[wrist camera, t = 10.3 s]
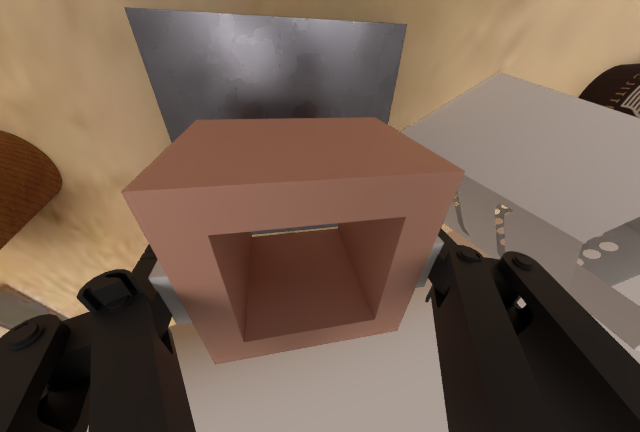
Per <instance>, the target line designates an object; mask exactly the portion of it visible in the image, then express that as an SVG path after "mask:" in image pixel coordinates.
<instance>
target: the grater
mask: <svg viewBox="0 0 640 432" xmlns="http://www.w3.org/2000/svg"><path fill="white" fill-rule="evenodd" d="M401 133H402V134H404V135H406V136H407V137H409V138H411V139H412V140H414V141H416V142H417V143H419V144H421V145H422V146H424V147H426V148H427V149H429V150H431V151H432V152H434V153H436V154H438V155H439V156H441V157H443V158H444V159H446V160H448V161H449V162H451V163H453V164H454V165H456V166H458V167H459V168H461V169H463V170H464V171H465V173H464V175H463V177H462V180H461V184H459V187H458V189H457V191H456V194H457V195H458V197H457V198H456V199H453V201H452V203H451V205H450V208H449V210H448V213H447V215H446V217H445V220H444V222H443V223H444V224H446V225H447V226H449V227H450V228H451V229H453V230H454V231H456V232H457V233H459V234H460V235H461V236H463V237H464V238H466V239H467V240H468V241H470V242H471V243H473V244H474V245H476V246H477V247H478V248H480V249H481V250H483V251H484V252H485V253H487V254H488V255H490V256H491V257H493V258H494V259H500V258H501V257H502V255H503V254H504V253H505V252H508V251H514V252H520V253H522V254H525V255H528V256H529V257H531V258H533V259H534V260H536V261H537V262H538V263H539V264H540V265H541V266H542V267H543V268H544V269H545V270H546V271H547V272H548V273H549V274H550V275H551V276H552V277H553V278H554V279H555V280H556V281H557V282H558V283H559V284H560V285H561V286H562V287H563V288H564V289H565V290H566V291H567V292H568V293H569V294H570V295H571V296H572V297H573V298H574V299H575V300H576V301H577V302H578V303H579V304H580V305H581V306H582V307H583V308H584V309H585V310H586V311H587V312H589V313H590V314H591V315H592V316H594V317H595V318H596V319H597V320H599V321H600V322H601V323H602V324H603V325H605V326H606V327H607V328H608V329H609V330H611V331H612V332H613V333H614V334H616V335H617V336H618V337H619V338H621V339H622V340H623V341H624V342H625V343H627V344H628V345H629V346H630V347H632V348H633V349H634V350H637V351H640V306H638V305H637V304H635V303H634V302H633V301H631V300H630V299H628V298H627V297H625V296H624V295H622V294H621V293H620V292H618V291H617V290H615V289H614V288H612V287H611V286H613V285H616V284H618V283H620V282H623V281H625V280H628V279H630V278H632V277H635V276H637V275H639V274H640V118H637V117H634V116H631V115H628V114H625V113H622V112H619V111H616V110H613V109H610V108H607V107H604V106H601V105H598V104H595V103H592V102H589V101H586V100H583V99H580V98H577V97H574V96H571V95H567V94H564V93H561V92H558V91H555V90H552V89H549V88H546V87H543V86H540V85H537V84H534V83H531V82H528V81H525V80H522V79H519V78H516V77H513V76H510V75H507V74H504V73H501V72H497V73H496V74H494V75H492V76H491V77H489V78H487V79H486V80H484V81H482V82H481V83H479V84H478V85H476V86H474V87H473V88H471V89H469V90H468V91H466V92H464V93H463V94H461V95H460V96H458V97H456V98H455V99H453V100H451V101H450V102H448V103H446V104H445V105H443V106H442V107H440V108H438V109H437V110H435V111H433V112H432V113H430V114H428V115H427V116H425V117H424V118H422V119H420V120H419V121H417V122H415V123H414V124H412V125H410V126H409V127H407V128H406V129H404V130H402V131H401ZM454 202H459V205H458V206H456V207H455V205H454ZM501 205H504V206H506V207H508V209H504V208H502V207H501ZM495 209H499V210H500V213H499V214H496V215H495ZM507 212H510V213H508V214H506V215H504V214H505V213H507ZM495 218H501V219H503V223H502V224H499V225H495ZM500 227H504V233H505V234H499V233H498V232H497V229H498V228H500ZM601 234H603V235H602V236H600V237H596V236H599V235H601ZM504 238H505V246H504V245H502V244H501V243H500V240H502V239H504ZM585 241H587V242H586V243H585V244H583V242H585ZM601 242H613V243H615V244H617V245H618V247H619V249H618V250H617V251H605V250H602V249H601V248H600V247H599V244H600V243H601ZM587 249H593V250H596V251H599V252H600V253H601V257H600V258H598V259H589V258H587V257H585V256H584V255H583V253H582V252H583V251H584V250H587ZM578 258H580V259H582V260H583V261H584V264H583V265H582V266H580V265H579V264H577V260H578Z"/></svg>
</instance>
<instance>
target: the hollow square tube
mask: <svg viewBox="0 0 640 432" xmlns="http://www.w3.org/2000/svg"><path fill="white" fill-rule="evenodd" d="M464 173H465V171H464V170H463V169H461V168H459V167H458V166H456V165H454V164H453V163H451V162H449V161H448V160H446V159H444V158H443V157H441V156H439V155H438V154H436V153H434V152H432V151H431V150H429V149H427V148H426V147H424V146H422V145H421V144H419V143H417V142H416V141H414V140H412V139H411V138H409V137H407V136H406V135H404V134H402V133H401V132H399V131H397V130H396V129H394V128H392V127H391V126H389V125H387V124H385V123H384V122H382V121H380V120H379V119H377V118H375V117H360V118H290V119H219V120H196V121H195V122H194V123H193V124H192V125H190V126H189V127H188V128H187V129H186V130H185V131H184V132H183V133H182V134H181V135H180V136H179V137H178V138H177V139H176V140H175V141H174V142H173V143H172V144H171V145H170V146H169V147H167V148H166V149H165V150H164V151H163V152H162V153H161V154H160V155H159V156H158V157H157V158H156V159H155V160H154V161H153V162H152V163H151V164H150V165H149V166H148V167H147V168H146V169H145V170H143V171H142V172H141V173H140V174H139V175H138V176H137V177H136V178H135V179H134V180H133V181H132V182H131V183H130V184H129V185H128V186H127V187H126V188H125V189H124V190H123V191H122V192H121V193H122V194H123V196H124V198H125V200H126V202H127V204H128V205H129V207H130V209H131V211H132V213H133V215H134V216H135V218H136V220H137V222H138V224H139V226H140V227H141V229H142V231H143V233H144V235H145V237H146V238H147V240H148V242H149V244H150V246H151V248H152V249H153V251H154V253H155V255H156V257H157V259H158V260H159V262H160V264H161V266H162V268H163V270H164V271H165V273H166V275H167V277H168V279H169V281H170V282H171V284H172V286H173V288H174V290H175V292H176V293H177V295H178V297H179V299H180V301H181V303H182V304H183V306H184V308H185V310H186V312H187V314H188V315H189V317H190V319H191V321H192V323H193V324H194V326H195V328H196V330H197V332H198V334H199V336H200V337H201V339H202V341H203V343H204V345H205V347H206V348H207V350H208V352H209V354H210V356H211V358H212V359H213V361H214V363H215V364H219V363H225V362H231V361H235V360H241V359H246V358H252V357H257V356H263V355H268V354H274V353H279V352H285V351H290V350H295V349H300V348H306V347H311V346H317V345H322V344H328V343H333V342H338V341H344V340H349V339H355V338H360V337H366V336H370V335H376V334H382V333H387V332H392V331H397V330H398V327H399V325H400V323H401V320H402V318H403V316H404V313H405V311H406V309H407V306H408V304H409V302H410V299H411V297H412V295H413V292H414V290H415V288H416V285H417V283H418V281H419V278H420V276H421V273H422V271H423V269H424V266H425V264H426V262H427V259H428V257H429V255H430V252H431V250H432V248H433V245H434V243H435V241H436V238H437V236H438V234H439V231H440V229H441V227H442V224H443V222H444V220H445V217H446V215H447V213H448V210H449V208H450V205H451V203H452V201H453V198H454V196H455V194H456V191H457V189H458V187H459V184H460V182H461V180H462V177H463V175H464ZM335 223H338V229H329V230H319V231H308V232H298V233H288V234H278V235H268V236H258V237H252V234H251V231H261V230H271V229H282V228H292V227H303V226H314V225H324V224H335Z"/></svg>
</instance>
